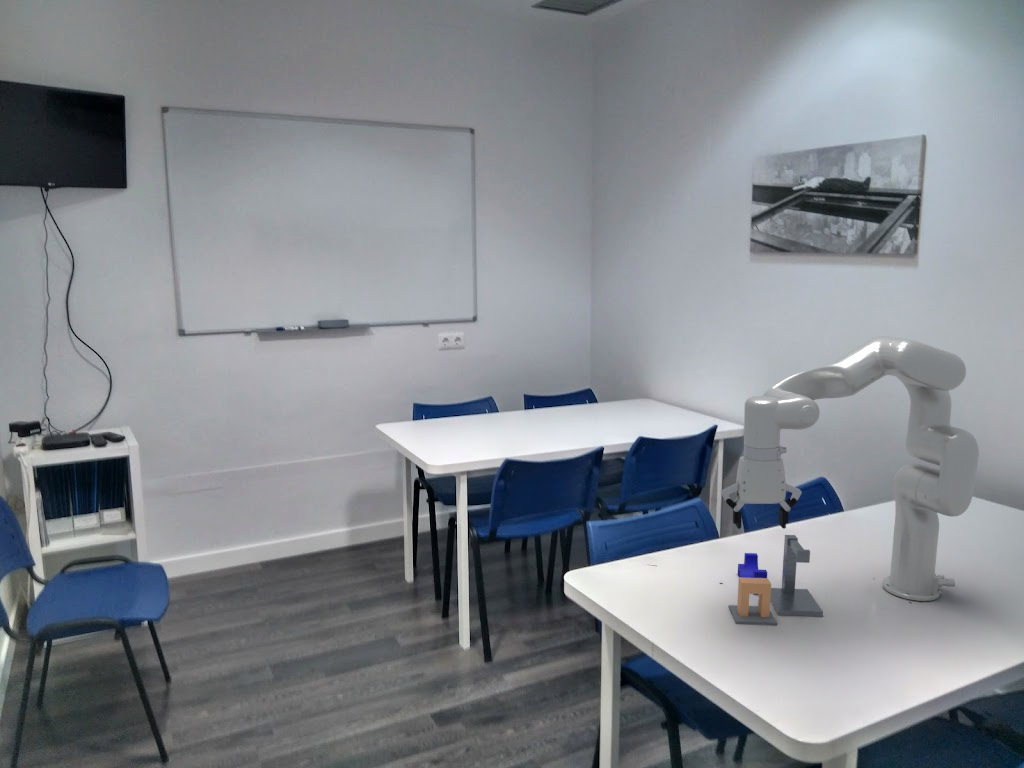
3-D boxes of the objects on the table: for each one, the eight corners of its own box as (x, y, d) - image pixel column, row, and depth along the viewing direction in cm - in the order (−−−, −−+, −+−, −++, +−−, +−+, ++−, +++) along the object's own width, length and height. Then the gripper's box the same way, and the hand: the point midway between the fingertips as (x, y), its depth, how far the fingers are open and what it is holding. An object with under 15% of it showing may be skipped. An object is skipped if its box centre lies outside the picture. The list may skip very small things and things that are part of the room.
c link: (765, 611, 174) (767, 578, 173) (769, 617, 171) (771, 583, 170) (737, 610, 174) (738, 577, 173) (739, 616, 171) (741, 582, 170)
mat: (767, 608, 176) (768, 606, 176) (776, 625, 168) (777, 622, 168) (728, 607, 177) (728, 605, 177) (735, 623, 169) (735, 621, 169)
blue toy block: (737, 574, 196) (738, 552, 195) (755, 575, 196) (756, 553, 195) (747, 594, 184) (748, 571, 183) (766, 595, 184) (767, 572, 183)
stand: (806, 593, 184) (811, 533, 182) (822, 616, 172) (827, 552, 170) (764, 592, 185) (768, 532, 182) (777, 615, 173) (781, 551, 171)
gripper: (797, 447, 169) (795, 520, 172) (718, 448, 171) (717, 520, 174) (807, 456, 162) (804, 532, 165) (724, 457, 164) (724, 533, 167)
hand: (760, 526), depth 169 cm, fingers open, 9 cm apart
